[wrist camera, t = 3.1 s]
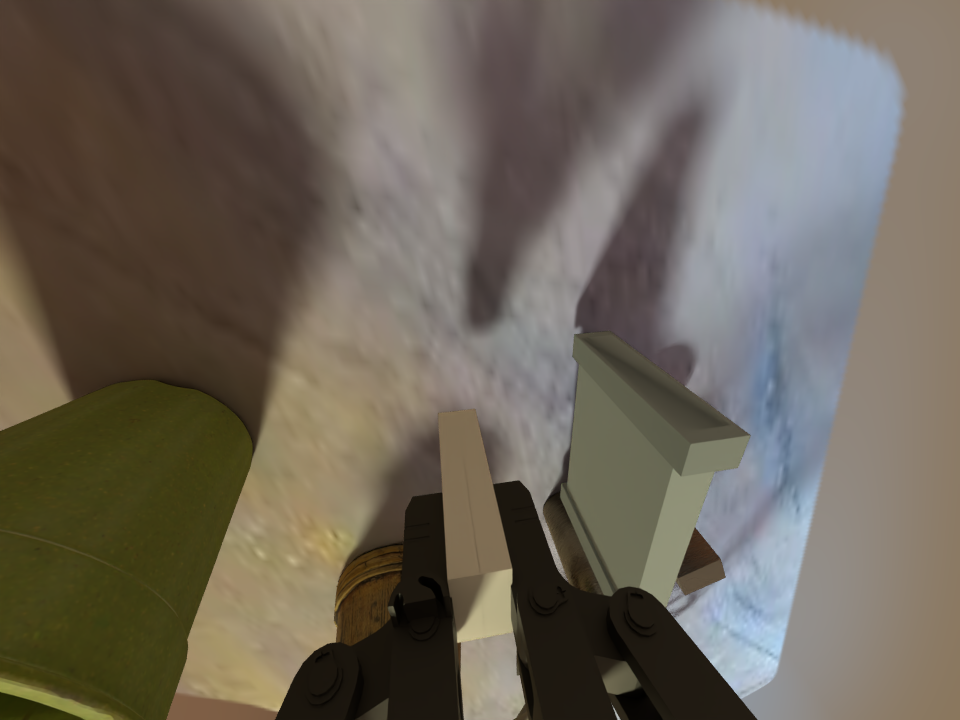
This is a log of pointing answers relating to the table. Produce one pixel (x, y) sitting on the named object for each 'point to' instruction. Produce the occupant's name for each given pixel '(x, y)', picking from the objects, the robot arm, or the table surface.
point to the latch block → (699, 565)
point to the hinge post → (569, 547)
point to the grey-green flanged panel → (639, 465)
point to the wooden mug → (368, 594)
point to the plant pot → (111, 547)
